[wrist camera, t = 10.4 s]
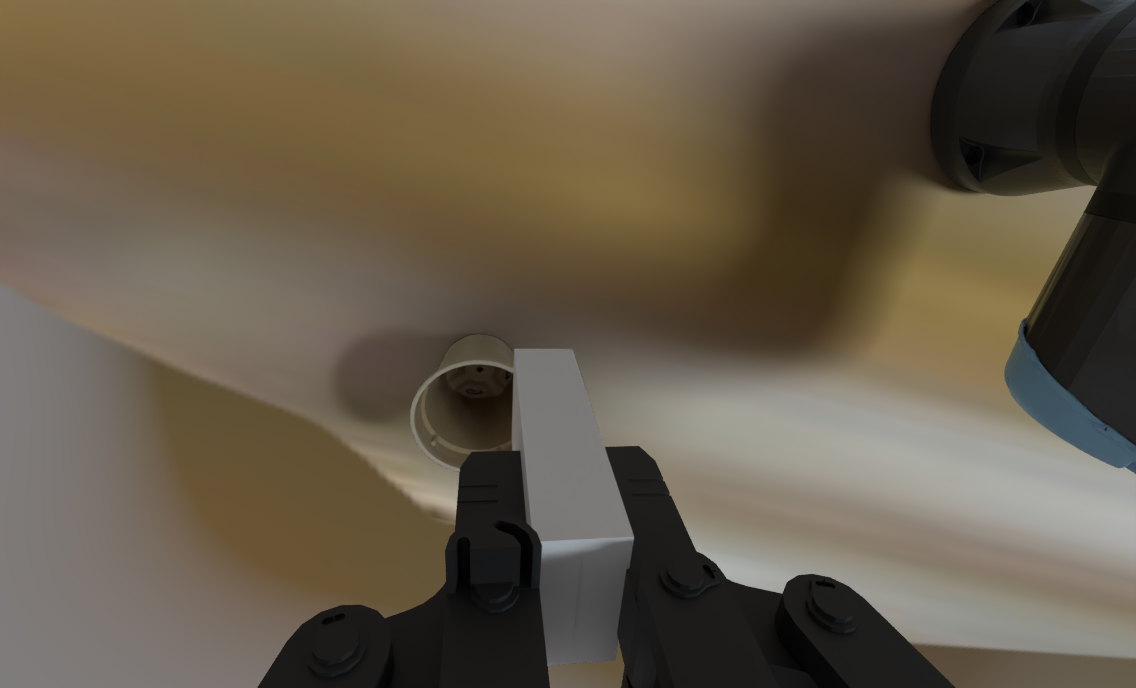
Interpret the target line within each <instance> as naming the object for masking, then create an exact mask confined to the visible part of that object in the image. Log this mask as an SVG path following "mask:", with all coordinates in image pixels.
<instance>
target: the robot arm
mask: <svg viewBox="0 0 1136 688" xmlns="http://www.w3.org/2000/svg"><path fill="white" fill-rule="evenodd" d="M931 135H932V142H933V147H934V151H935V154H936V157H937V159H938V161H939V163H940V165H941V167H942V168H943V170H944V171H945V172H946V174H947V175H948V176H949V177H950V178H951V179H952V180H953V181H955V182H956V183H958V184H959V185H961V186H963V187H965V188H967V189H970V190H973V191H978V192H983V193H988V194H993V195H999V196H1022V195H1028V194H1035V193H1041V192H1047V191H1054V190H1060V189H1066V188H1073V187H1079V186H1085V185H1092V186H1097V188H1096V190H1095V192H1094V194H1093V196H1092V198H1091V200H1090V202H1089V204H1088V205H1087V207H1086V209H1085V211H1084V213H1083V215H1082V217H1081V219H1080V220H1079V222H1078V224H1077V226H1076V228H1075V230H1074V232H1073V233H1072V235H1071V237H1070V239H1069V241H1068V243H1067V244H1066V246H1065V248H1064V250H1063V252H1062V254H1061V256H1060V257H1059V259H1058V261H1057V263H1056V265H1055V267H1054V269H1053V270H1052V272H1051V274H1050V276H1049V278H1048V280H1047V282H1046V283H1045V285H1044V287H1043V289H1042V291H1041V293H1040V295H1039V296H1038V298H1037V300H1036V302H1035V304H1034V306H1033V308H1032V309H1031V311H1030V313H1029V315H1028V317H1027V318H1025V319H1023V320H1022V322H1021V324H1020V326H1019V331H1018V335H1019V337H1018V339H1017V341H1016V344H1015V346H1014V348H1013V350H1012V352H1011V355H1010V357H1009V359H1008V361H1007V363H1006V366H1005V372H1004V377H1005V381H1006V384H1007V386H1008V388H1009V390H1010V393H1011V395H1012V397H1013V398H1014V399H1015V401H1016V402H1017V403H1018V404H1019V405H1020V406H1021V407H1022V408H1023V409H1024V410H1025V411H1026V412H1027V413H1028V414H1029V415H1030V416H1031V417H1032V418H1034V419H1035V420H1036V421H1037V422H1038V423H1040V424H1041V425H1042V426H1044V427H1045V428H1047V429H1048V430H1049V431H1051V432H1052V433H1054V434H1055V435H1057V436H1058V437H1060V438H1061V439H1063V440H1065V441H1066V442H1068V443H1070V444H1071V445H1073V446H1075V447H1076V448H1078V449H1080V450H1082V451H1083V452H1085V453H1087V454H1089V455H1091V456H1093V457H1095V458H1097V459H1099V460H1101V461H1103V462H1105V463H1107V464H1109V465H1112V466H1114V467H1117V468H1123V467H1126V468H1127V469H1129V470H1130V471H1132V472H1134V473H1135V474H1136V0H999V1H998V2H996V3H995V4H994V5H992V6H991V7H990V8H989V9H988V10H987V11H985V12H984V13H983V14H982V15H981V16H980V17H979V18H978V19H977V20H976V21H975V22H974V24H973V25H972V26H971V27H970V28H969V29H968V31H967V32H966V33H965V35H964V36H963V37H962V39H961V40H960V41H959V43H958V44H957V46H956V47H955V49H954V51H953V52H952V54H951V56H950V58H949V60H948V62H947V64H946V66H945V68H944V70H943V72H942V75H941V77H940V80H939V83H938V86H937V89H936V93H935V97H934V101H933V107H932V115H931ZM445 559H446V583H445V584H444V586H443V587H442V588H441V589H440V590H439V591H438V592H437V593H436V595H434V596H433V597H432V598H430V599H429V600H427V601H426V602H425V603H424V604H421V605H419V606H417V607H414V608H412V609H410V610H407V611H405V612H402V613H399V614H396V615H393V616H390V617H388V618H384V617H383V616H382V615H381V614H380V613H379V612H378V611H377V610H374V609H371V608H368V607H366V606H363V605H341V606H338V607H335V608H332V609H329V610H326V611H323V612H320V613H319V614H317V615H316V616H314V617H313V618H311V619H310V620H308V621H307V622H305V623H303V624H302V625H301V626H300V627H299V629H297V631H296V632H295V633H294V634H293V635H292V636H291V638H290V639H289V640H288V641H287V642H286V644H285V645H284V647H283V648H282V650H281V652H280V653H279V655H278V656H277V658H276V659H275V661H274V663H273V664H272V666H271V667H270V669H269V670H268V672H267V673H266V675H265V677H264V678H263V680H262V681H261V683H260V684H259V686H258V688H550V684H549V675H548V666H553V665H565V664H577V663H590V662H601V661H613V660H615V658H616V653H617V646H618V639H619V644H620V648H621V652H622V656H623V661H624V664H625V668H624V673H623V680H622V686H621V688H955V687H954V686H953V685H952V684H951V683H950V682H949V681H948V680H947V679H946V678H945V677H944V676H943V675H942V674H941V673H940V672H939V671H938V670H937V669H936V668H935V667H934V666H933V665H932V664H931V663H930V662H929V661H928V660H927V659H926V658H925V657H923V655H921V653H919V652H918V651H917V650H916V649H915V648H914V647H913V646H912V645H911V644H910V643H909V642H908V641H907V640H906V639H905V638H904V637H903V636H902V635H901V634H900V633H899V632H898V631H897V630H896V629H895V628H894V627H893V626H892V625H891V624H890V623H889V622H888V621H887V620H886V619H885V618H884V617H883V616H882V615H881V614H880V613H878V612H877V611H876V610H875V609H874V608H873V607H872V606H871V605H870V604H869V603H868V602H867V601H866V600H865V599H864V598H863V597H862V596H860V595H859V594H858V593H856V592H855V591H854V590H852V589H851V588H850V587H849V586H847V585H845V584H843V583H840V582H838V581H836V580H834V579H832V578H830V577H825V576H820V575H815V574H807V575H798V576H796V577H795V578H793V579H791V580H790V581H788V582H787V584H786V586H785V589H784V591H783V594H781V593H776V592H771V591H767V590H762V589H758V588H753V587H748V586H745V585H741V584H738V583H735V582H732V581H730V580H728V579H726V577H725V576H724V574H723V573H722V571H721V570H720V569H719V567H718V566H717V565H716V564H715V563H714V562H713V561H711V560H710V559H709V558H707V557H706V556H705V555H703V554H701V553H699V552H697V551H696V550H695V548H694V545H693V543H692V541H691V539H690V537H689V534H688V532H687V530H686V528H685V526H684V523H683V521H682V519H681V517H680V515H679V512H678V510H677V508H676V506H675V504H674V501H673V499H672V497H671V496H670V495H669V490H668V488H667V486H666V484H665V481H663V477H662V475H661V473H660V470H659V468H658V466H657V464H656V462H655V460H654V459H653V458H652V457H650V456H649V455H648V454H647V453H646V452H645V451H644V450H643V449H642V448H640V447H639V446H625V447H604V443H603V440H602V437H601V434H600V431H599V428H598V425H597V422H596V419H595V416H594V413H593V410H592V407H591V404H590V401H589V398H588V395H587V392H586V389H585V386H584V382H583V379H582V376H581V373H580V370H579V367H578V364H577V361H576V358H575V355H574V352H573V349H514V372H513V408H512V451H479V452H471V453H470V455H469V456H468V457H467V459H466V460H465V462H464V463H463V464H462V466H461V467H460V474H459V489H458V499H457V512H456V525H455V532H454V533H453V534H452V535H451V536H450V538H449V541H448V544H447V547H446V550H445Z"/></svg>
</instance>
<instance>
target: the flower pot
mask: <svg viewBox="0 0 1136 688" xmlns="http://www.w3.org/2000/svg"><path fill="white" fill-rule="evenodd" d="M480 367H481V368H482V369H483V370H482V371H478V370H477V369H478V368H480ZM507 371H509V372H511V375H510V376H509V377H508V378H505V377H506V372H507ZM513 372H514V354H513V352H512V351H511V349H510V348H509V347H508V346H507V345H506V344H505V343H504V342H503V341H501V340H500V339H498V338H495V337H492V336H489V335H482V334H476V335H470V336H467V337H465V338H463V339H461V340H459V341H457V342H456V343H454V344H453V345H452V346H451V347H450V348H449V349H448V351H447V352H446V354H445V356H444V358H443V360H442V362H441V364H440V366H439V368H438V370H437V371H436V372H434V373H433V374H432V375H431V376H430V377H428V378H427V379H426V380H425V382H424V383H423V384H422V385H421V386H420V388H419V389H418V391H417V392H416V394H415V396H414V399H413V401H412V405H411V409H410V427H411V431H412V434H413V436H414V439H415V441H416V443H417V445H418V446H419V448H420V449H421V450H422V451H423V452H424V454H425V455H427V457H429V458H430V459H431V460H432V461H434V462H436V463H437V464H439V465H440V466H442V467H445V468H448V469H451V470H453V471H456V472H460V467H461V466H462V464H463V463H464V462H465V460H466V459H467V457H468V456H469V455H470V453H471V452H479V451H512V408H513ZM468 389H473V390H479V391H482V393H478V394H475V393H469V392H467V390H468Z"/></svg>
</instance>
